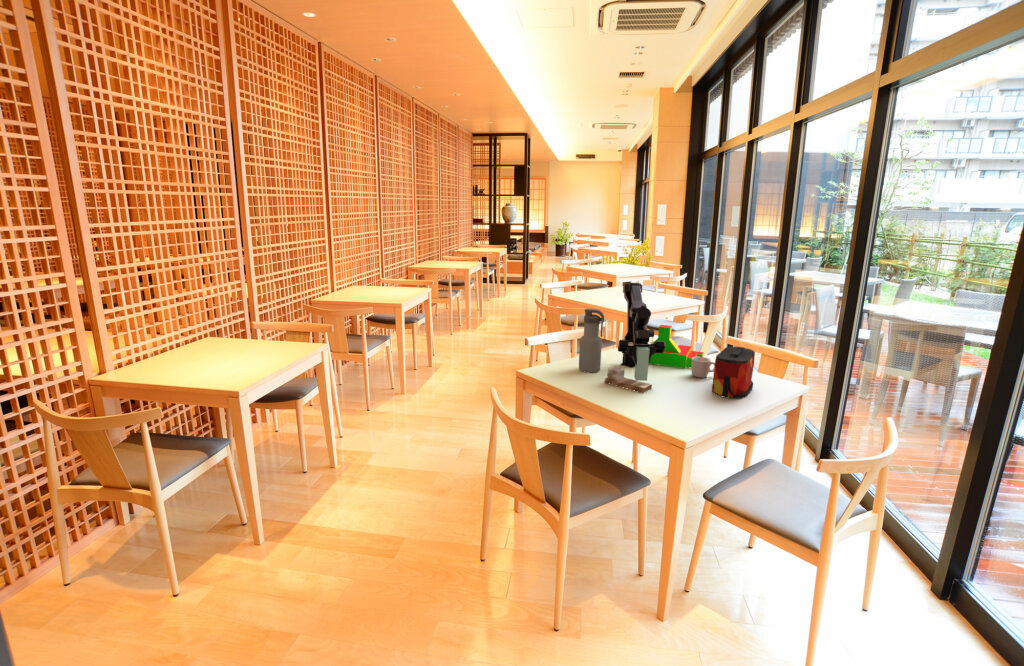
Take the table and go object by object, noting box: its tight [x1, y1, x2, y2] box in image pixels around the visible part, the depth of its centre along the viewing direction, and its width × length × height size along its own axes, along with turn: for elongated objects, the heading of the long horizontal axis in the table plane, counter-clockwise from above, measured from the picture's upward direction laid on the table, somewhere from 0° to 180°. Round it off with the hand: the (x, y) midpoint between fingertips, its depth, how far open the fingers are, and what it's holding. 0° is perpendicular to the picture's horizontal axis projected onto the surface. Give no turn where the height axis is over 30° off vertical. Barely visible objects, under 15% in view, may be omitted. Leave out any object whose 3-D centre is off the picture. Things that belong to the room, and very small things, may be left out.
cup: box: [691, 356, 715, 379], centre depth 233 cm, size 11×8×8 cm
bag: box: [711, 346, 756, 399], centre depth 216 cm, size 30×14×16 cm, turn 146°
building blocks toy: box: [649, 324, 704, 369], centre depth 254 cm, size 19×25×18 cm
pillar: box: [634, 347, 649, 382], centre depth 215 cm, size 4×4×13 cm
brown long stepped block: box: [604, 366, 653, 394], centre depth 219 cm, size 18×7×6 cm, turn 48°
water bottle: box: [578, 308, 605, 373], centre depth 237 cm, size 10×10×28 cm
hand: (642, 364), depth 214 cm, fingers closed on pillar, 4 cm apart
